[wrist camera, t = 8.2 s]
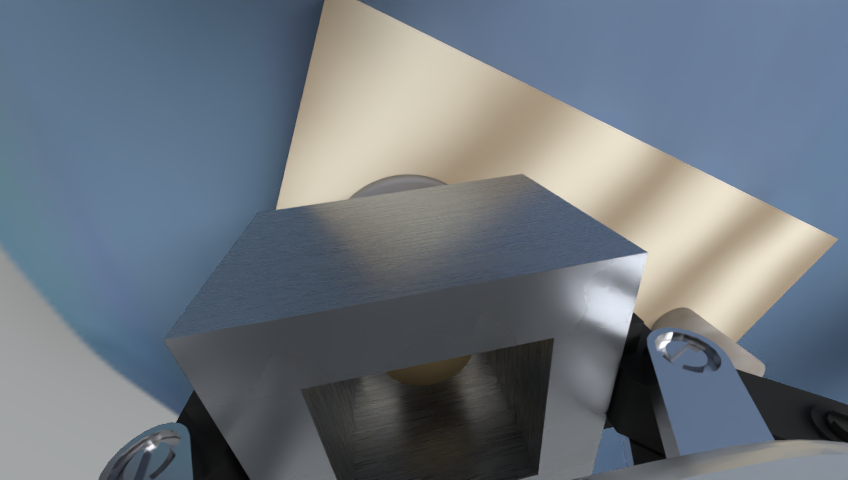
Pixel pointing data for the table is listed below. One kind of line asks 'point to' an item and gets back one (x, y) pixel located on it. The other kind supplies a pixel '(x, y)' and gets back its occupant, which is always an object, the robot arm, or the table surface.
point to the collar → (415, 335)
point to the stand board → (534, 173)
